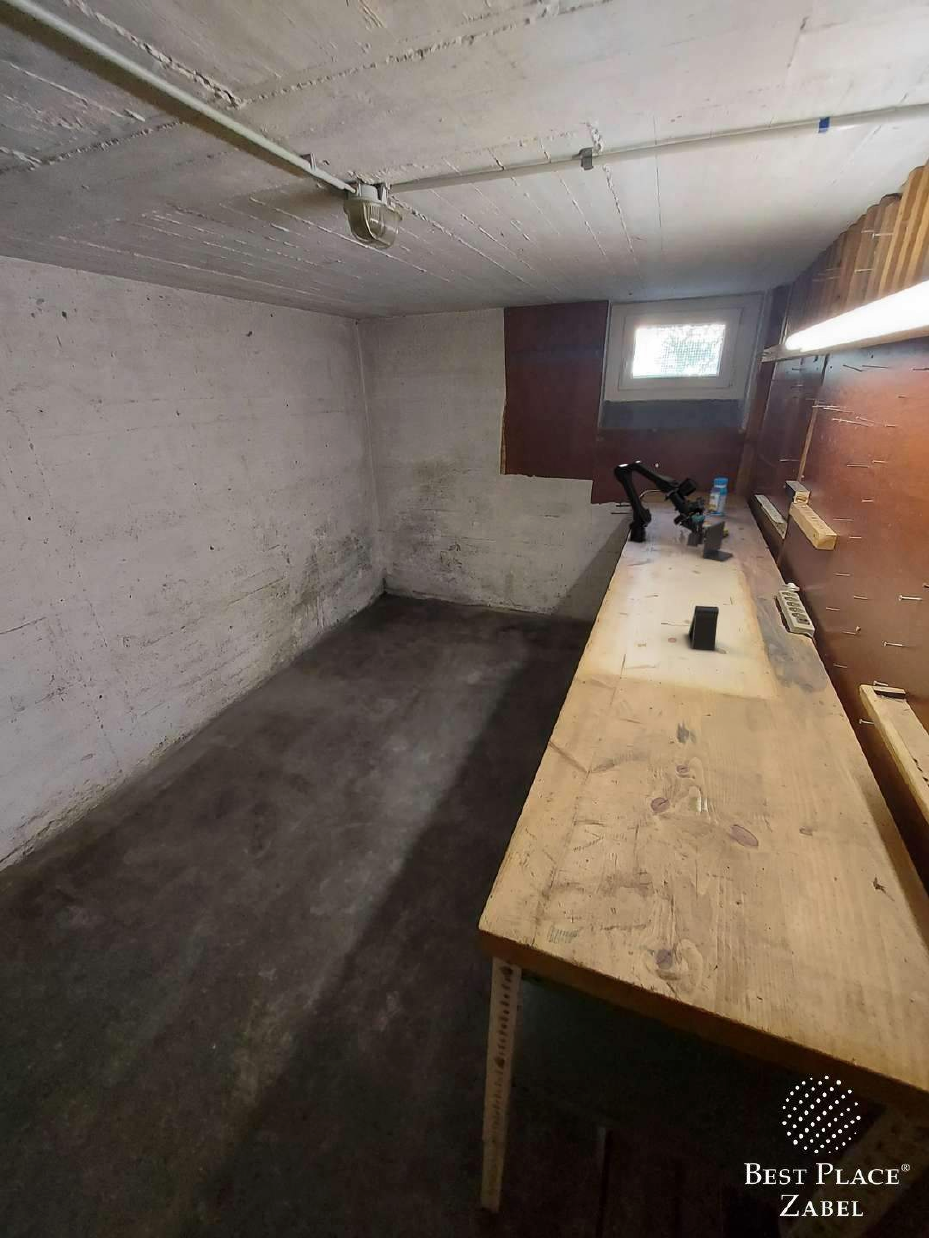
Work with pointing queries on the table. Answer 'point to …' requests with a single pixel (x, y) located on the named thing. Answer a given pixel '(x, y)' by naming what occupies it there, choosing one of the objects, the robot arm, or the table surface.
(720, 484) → the beverage bottle
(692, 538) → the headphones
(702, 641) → the phone stand
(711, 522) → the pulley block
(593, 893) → the table surface
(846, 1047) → the table surface
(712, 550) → the dark panel
